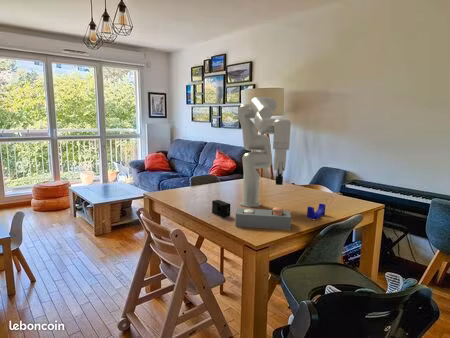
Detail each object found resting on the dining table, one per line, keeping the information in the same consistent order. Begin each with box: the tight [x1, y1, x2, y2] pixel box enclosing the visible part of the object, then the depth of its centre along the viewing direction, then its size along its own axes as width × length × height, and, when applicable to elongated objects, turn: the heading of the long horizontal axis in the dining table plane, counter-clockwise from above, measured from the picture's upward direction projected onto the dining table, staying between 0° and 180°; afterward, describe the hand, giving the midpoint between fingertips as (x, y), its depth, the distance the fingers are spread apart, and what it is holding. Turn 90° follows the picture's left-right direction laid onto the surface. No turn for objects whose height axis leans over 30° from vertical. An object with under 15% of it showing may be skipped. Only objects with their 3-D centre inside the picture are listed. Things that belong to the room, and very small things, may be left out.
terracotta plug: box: [272, 206, 284, 215], centre depth 147 cm, size 5×5×6 cm
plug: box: [244, 208, 254, 214], centre depth 149 cm, size 5×5×6 cm
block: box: [234, 207, 292, 231], centre depth 148 cm, size 10×26×6 cm, turn 83°
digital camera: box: [211, 199, 231, 219], centre depth 161 cm, size 10×5×7 cm, turn 40°
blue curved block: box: [306, 202, 326, 220], centre depth 162 cm, size 12×4×6 cm, turn 129°
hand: (278, 184), depth 145 cm, fingers closed
